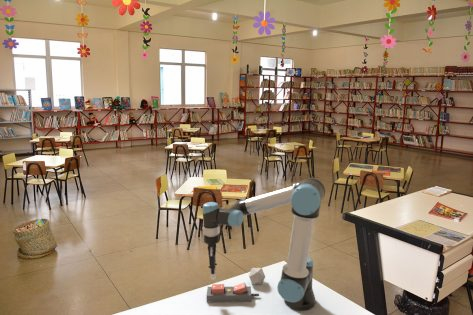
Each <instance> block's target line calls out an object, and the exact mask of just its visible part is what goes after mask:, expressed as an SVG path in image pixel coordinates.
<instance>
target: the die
mask: <svg viewBox="0 0 473 315" xmlns="http://www.w3.org/2000/svg"><path fill="white" fill-rule="evenodd" d="M248 277H249V280H250V282H251V285H263V284H264V281H265V279H266V275H265V273H264V270H263V268H262V267H251V269H250V271H249V274H248Z"/></svg>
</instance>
